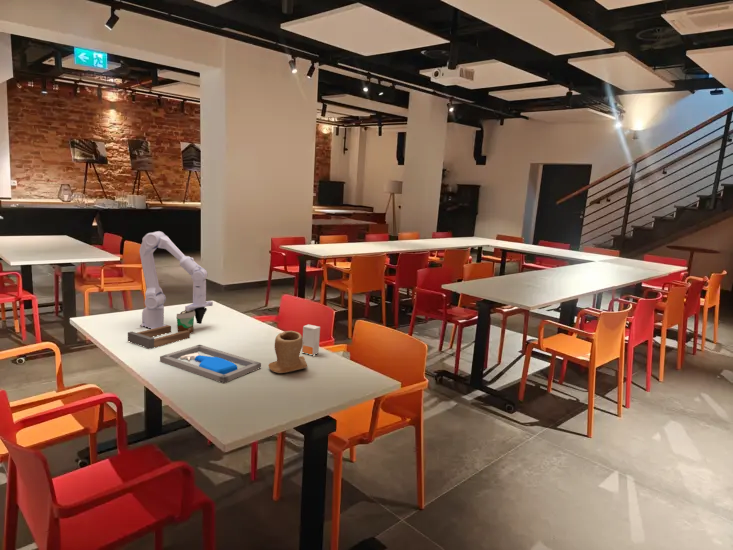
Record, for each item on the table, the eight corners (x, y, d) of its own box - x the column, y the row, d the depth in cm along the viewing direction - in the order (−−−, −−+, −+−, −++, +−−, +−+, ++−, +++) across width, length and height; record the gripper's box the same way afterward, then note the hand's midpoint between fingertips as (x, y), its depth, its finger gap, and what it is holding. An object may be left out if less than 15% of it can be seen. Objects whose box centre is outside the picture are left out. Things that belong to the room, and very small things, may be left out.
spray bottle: (240, 364, 180) (201, 348, 195) (215, 371, 172) (176, 354, 187) (240, 371, 181) (201, 355, 196) (215, 379, 172) (176, 361, 187)
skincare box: (301, 353, 204) (302, 326, 202) (307, 351, 208) (308, 323, 206) (313, 356, 202) (314, 328, 199) (318, 354, 205) (320, 326, 203)
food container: (190, 336, 215) (190, 314, 213) (176, 336, 215) (176, 314, 213) (199, 328, 227) (199, 308, 226) (186, 328, 227) (185, 307, 225)
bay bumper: (127, 341, 203) (127, 332, 202) (132, 340, 205) (132, 331, 204) (149, 348, 196) (149, 339, 196) (154, 347, 198) (154, 338, 198)
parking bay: (132, 340, 205) (132, 333, 204) (168, 331, 220) (168, 325, 220) (154, 347, 198) (154, 340, 198) (189, 337, 214) (189, 331, 213)
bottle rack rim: (160, 361, 184) (160, 356, 184) (199, 349, 200) (199, 344, 200) (223, 383, 168) (223, 377, 168) (260, 368, 185) (261, 363, 184)
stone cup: (278, 378, 176) (280, 339, 173) (264, 368, 185) (266, 330, 183) (315, 372, 185) (317, 334, 182) (299, 362, 194) (301, 325, 192)
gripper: (193, 298, 216) (192, 328, 218) (217, 293, 229) (217, 321, 231) (182, 296, 219) (181, 325, 222) (206, 291, 232) (206, 318, 234)
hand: (199, 323), depth 226 cm, fingers closed
